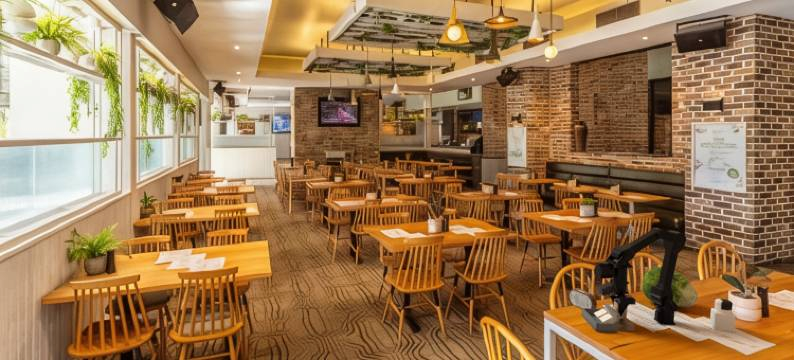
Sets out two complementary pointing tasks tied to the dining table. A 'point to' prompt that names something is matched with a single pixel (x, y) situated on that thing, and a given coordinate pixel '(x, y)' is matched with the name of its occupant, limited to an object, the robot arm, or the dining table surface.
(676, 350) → the dining table surface
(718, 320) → the medicine bottle
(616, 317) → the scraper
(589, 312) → the tray
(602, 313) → the tile
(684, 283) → the lettuce
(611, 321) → the tile
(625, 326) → the board
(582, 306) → the tin
